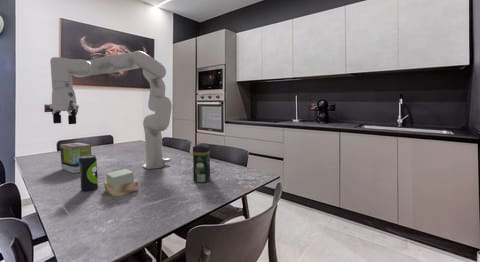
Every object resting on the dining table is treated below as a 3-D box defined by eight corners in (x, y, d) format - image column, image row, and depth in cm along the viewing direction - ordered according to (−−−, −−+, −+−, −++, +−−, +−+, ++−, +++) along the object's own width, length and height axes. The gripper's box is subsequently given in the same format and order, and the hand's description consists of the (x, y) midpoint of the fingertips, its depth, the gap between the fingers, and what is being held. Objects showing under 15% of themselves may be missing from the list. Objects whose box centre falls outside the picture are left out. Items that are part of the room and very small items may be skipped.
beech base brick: (130, 185, 108) (129, 175, 107) (139, 191, 101) (138, 180, 100) (105, 193, 101) (104, 182, 100) (114, 199, 94) (112, 188, 93)
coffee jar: (196, 177, 122) (196, 141, 120) (211, 177, 121) (211, 142, 119) (191, 183, 112) (190, 145, 110) (207, 183, 112) (207, 145, 110)
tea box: (93, 169, 134) (91, 144, 132) (73, 173, 125) (71, 146, 124) (80, 165, 142) (78, 141, 140) (60, 169, 134) (59, 143, 132)
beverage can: (79, 190, 102) (76, 156, 100) (94, 186, 106) (92, 154, 105) (84, 193, 98) (82, 158, 96) (100, 189, 103) (98, 156, 101)
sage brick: (126, 177, 106) (125, 168, 105) (134, 181, 100) (133, 172, 100) (107, 182, 100) (106, 173, 99) (114, 187, 94) (113, 177, 94)
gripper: (84, 86, 107) (86, 123, 109) (57, 86, 112) (60, 122, 114) (67, 84, 100) (70, 125, 102) (40, 85, 105) (43, 123, 107)
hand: (64, 123), depth 108 cm, fingers open, 9 cm apart
